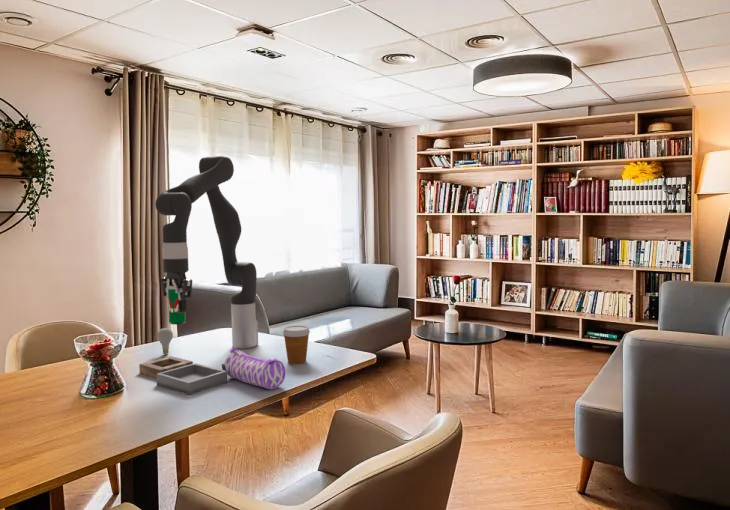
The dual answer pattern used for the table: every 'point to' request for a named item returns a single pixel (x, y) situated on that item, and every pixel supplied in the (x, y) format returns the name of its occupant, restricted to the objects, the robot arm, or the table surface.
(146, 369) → the square wooden frame
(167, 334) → the light bulb
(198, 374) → the tray
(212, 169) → the robot arm
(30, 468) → the table surface
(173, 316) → the soda can
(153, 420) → the table surface
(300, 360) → the disposable coffee cup
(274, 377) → the pencil case
